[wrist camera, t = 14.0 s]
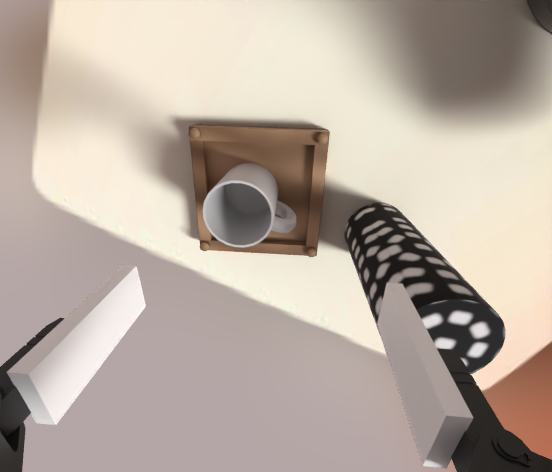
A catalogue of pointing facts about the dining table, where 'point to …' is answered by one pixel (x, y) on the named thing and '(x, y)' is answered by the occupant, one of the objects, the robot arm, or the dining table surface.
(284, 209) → the cup
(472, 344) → the white-spotted black cylinder
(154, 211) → the dining table surface
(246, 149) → the wooden tray
